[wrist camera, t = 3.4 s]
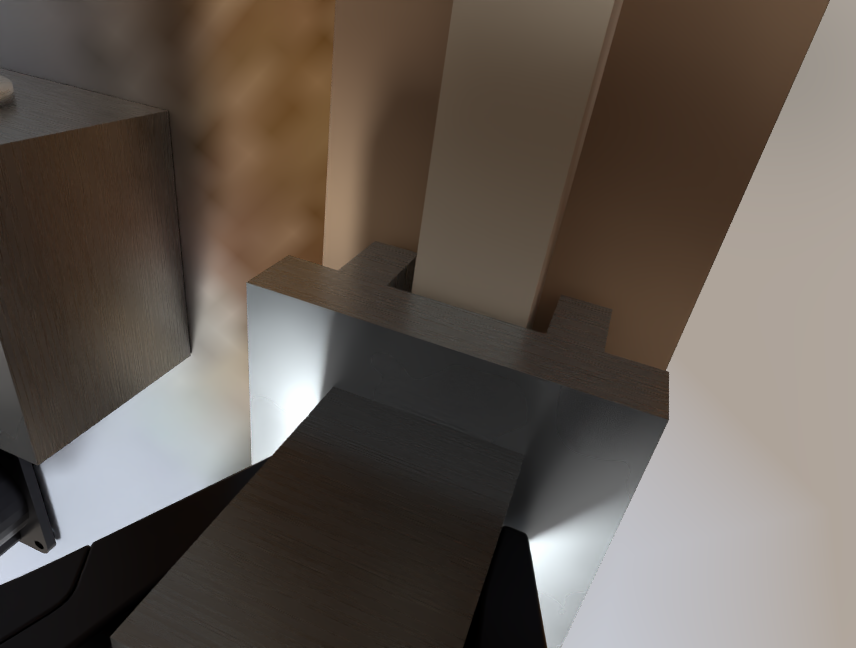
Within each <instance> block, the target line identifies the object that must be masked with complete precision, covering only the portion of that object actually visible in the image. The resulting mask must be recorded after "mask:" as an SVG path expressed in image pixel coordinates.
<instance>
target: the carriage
mask: <svg viewBox="0 0 856 648" xmlns="http://www.w3.org/2000/svg"><path fill="white" fill-rule="evenodd" d="M416 258H417V253H416V252H412V251H409V250H405V249H402V248H398V247H395V246H391V245H388V244H385V243H381V242H378V241H375V242H373V243H372V244H371V245H369V246H368V247H367V248H366V249H364V250H363V251H362V252H361V253H359V254H358V255H357V256H355V257H354V258H353V259H352V260H350V261H349V262H348V263H347V264H345V265H344V266H343V267H341V268H340V269H339V270H335V269H332V268H329V267H325V266H322V265H319V264H316V263H312V262H309V261H306V260H303V259H299V258H296V257H293V256H289V255H288V256H287V257H285V258H284V259H282V260H281V261H279V262H277V263H276V264H274V265H273V266H271V267H270V268H268V269H267V270H265V271H264V272H262V273H260V274H259V275H257V276H256V277H254V278H253V279H251V280H250V281H248V282H246V283H247V319H248V355H249V391H250V426H251V462H252V465H254V464H256V463H258V462H260V461H262V460H264V459H266V458H268V457H270V456H271V457H270V458H269V459H268V460H267V461H266V463H265V464H264V465H263V466H262V467H261V468H260V469H259V470H258V472H257V473H256V474H255V475H254V476H253V477H252V478H251V479H250V481H249V482H248V483H247V484H246V485H245V486H244V487H243V488H242V489H241V491H240V492H239V493H238V494H237V495H236V496H235V497H234V498H233V500H232V501H231V502H230V503H229V504H228V505H227V506H226V507H225V509H224V510H223V511H222V512H221V513H220V514H219V515H218V516H217V518H216V519H215V520H214V521H213V522H212V523H211V524H210V525H209V527H208V528H207V529H206V530H205V531H204V532H203V533H202V534H201V535H200V537H199V538H198V539H197V540H196V541H195V542H194V543H193V544H192V546H191V547H190V548H189V549H188V550H187V551H186V552H185V553H184V555H183V556H182V557H181V558H180V559H179V560H178V561H177V562H176V564H175V565H174V566H173V567H172V568H171V569H170V570H169V571H168V572H167V574H166V575H165V576H164V577H163V578H162V579H161V580H160V581H159V583H158V584H157V585H156V586H155V587H154V588H153V589H152V590H151V592H150V593H149V594H148V595H147V596H146V597H145V598H144V599H143V601H142V602H141V603H140V604H139V605H138V606H137V607H136V608H135V610H134V611H133V612H132V613H131V614H130V615H129V616H128V617H127V618H126V620H125V621H124V622H123V623H122V624H121V625H120V626H119V627H118V629H117V630H116V631H115V632H114V633H113V634H112V635H111V636H110V640H111V643H112V647H113V648H464V645H465V642H466V638H467V635H468V632H469V629H470V626H471V623H472V619H473V616H474V613H475V610H476V607H477V603H478V600H479V597H480V594H481V591H482V588H483V585H484V581H485V578H486V575H487V572H488V569H489V566H490V563H491V560H492V557H493V554H494V551H495V548H496V544H497V541H498V538H499V535H500V532H501V529H502V527H503V526H509V527H512V528H514V529H517V530H519V531H522V532H524V533H526V534H527V536H528V539H529V544H530V550H531V555H532V561H533V567H534V573H535V579H536V585H537V590H538V596H539V602H540V608H541V614H542V620H543V625H544V631H545V637H546V643H547V648H561V646H562V644H563V642H564V640H565V638H566V636H567V634H568V631H569V629H570V627H571V625H572V623H573V621H574V619H575V617H576V615H577V612H578V610H579V608H580V606H581V604H582V601H583V600H584V598H585V596H586V594H587V591H588V589H589V587H590V585H591V583H592V581H593V579H594V576H595V575H596V572H597V570H598V568H599V566H600V564H601V562H602V560H603V557H604V556H605V553H606V551H607V549H608V547H609V545H610V543H611V541H612V538H613V537H614V534H615V532H616V530H617V528H618V526H619V524H620V521H621V520H622V518H623V515H624V513H625V511H626V509H627V507H628V505H629V503H630V501H631V498H632V496H633V494H634V492H635V490H636V488H637V486H638V484H639V482H640V480H641V477H642V475H643V473H644V471H645V469H646V467H647V465H648V463H649V461H650V458H651V456H652V454H653V452H654V450H655V448H656V446H657V444H658V442H659V439H660V437H661V435H662V433H663V431H664V429H665V427H666V425H667V423H668V420H669V372H667V371H664V370H661V369H658V368H655V367H651V366H648V365H645V364H641V363H638V362H635V361H632V360H628V359H625V358H622V357H619V356H615V355H612V354H609V353H606V352H604V351H605V346H606V340H607V335H608V330H609V325H610V319H611V314H612V309H610V308H606V307H603V306H599V305H596V304H592V303H589V302H585V301H582V300H578V299H575V298H571V297H568V296H565V295H561V296H560V299H559V301H558V304H557V307H556V309H555V312H554V315H553V317H552V320H551V322H550V325H549V328H548V330H547V333H546V334H544V333H540V332H537V331H534V330H531V329H527V328H524V327H521V326H518V325H514V324H511V323H508V322H505V321H501V320H498V319H495V318H492V317H488V316H485V315H482V314H479V313H475V312H472V311H469V310H465V309H462V308H459V307H456V306H452V305H449V304H446V303H443V302H439V301H436V300H433V299H430V298H426V297H423V296H420V295H417V294H413V293H412V286H413V279H414V272H415V265H416Z"/></svg>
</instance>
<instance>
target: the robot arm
mask: <svg viewBox="0 0 856 648" xmlns="http://www.w3.org/2000/svg"><path fill="white" fill-rule="evenodd" d="M270 457H271V456H270ZM270 457H268V458H266V459H264V460H262V461H260V462H258V463H256V464H254V465H251V466H249V467H247V468H245V469H243V470H241V471H239V472H237V473H235V474H233V475H231V476H229V477H227V478H225V479H223V480H221V481H219V482H217V483H214V484H212V485H210V486H208V487H206V488H204V489H202V490H200V491H198V492H196V493H194V494H192V495H190V496H188V497H186V498H184V499H182V500H179V501H177V502H175V503H173V504H171V505H169V506H167V507H165V508H163V509H161V510H159V511H157V512H155V513H153V514H151V515H149V516H147V517H145V518H142V519H140V520H138V521H136V522H134V523H132V524H130V525H128V526H126V527H124V528H122V529H120V530H118V531H116V532H114V533H112V534H110V535H108V536H105V537H103V538H101V539H99V540H97V541H95V542H93V543H92V545H91V547H90V546H89V545H87V546H84V547H82V548H80V549H78V550H76V551H74V552H72V553H70V554H68V555H66V556H64V557H62V558H60V559H58V560H55V561H53V562H51V563H49V564H47V565H45V566H42V567H40V568H38V569H36V570H34V571H32V572H29V573H27V574H25V575H23V576H21V577H18V578H16V579H13V580H11V581H9V582H6V583H4V584H2V585H0V648H113V647H112V643H111V640H110V636H111V635H112V634H113V633H114V632H115V631H116V630H117V629H118V627H119V626H120V625H121V624H122V623H123V622H124V621H125V620H126V618H127V617H128V616H129V615H130V614H131V613H132V612H133V611H134V610H135V608H136V607H137V606H138V605H139V604H140V603H141V602H142V601H143V599H144V598H145V597H146V596H147V595H148V594H149V593H150V592H151V590H152V589H153V588H154V587H155V586H156V585H157V584H158V583H159V581H160V580H161V579H162V578H163V577H164V576H165V575H166V574H167V572H168V571H169V570H170V569H171V568H172V567H173V566H174V565H175V564H176V562H177V561H178V560H179V559H180V558H181V557H182V556H183V555H184V553H185V552H186V551H187V550H188V549H189V548H190V547H191V546H192V544H193V543H194V542H195V541H196V540H197V539H198V538H199V537H200V535H201V534H202V533H203V532H204V531H205V530H206V529H207V528H208V527H209V525H210V524H211V523H212V522H213V521H214V520H215V519H216V518H217V516H218V515H219V514H220V513H221V512H222V511H223V510H224V509H225V507H226V506H227V505H228V504H229V503H230V502H231V501H232V500H233V498H234V497H235V496H236V495H237V494H238V493H239V492H240V491H241V489H242V488H243V487H244V486H245V485H246V484H247V483H248V482H249V481H250V479H251V478H252V477H253V476H254V475H255V474H256V473H257V472H258V470H259V469H260V468H261V467H262V466H263V465H264V464H265V463H266V461H267V460H268V459H269V458H270ZM18 541H20V542H22V543H24V544H26V545H28V546H30V547H32V548H34V549H36V550H38V551H40V552H42V553H48V552H49V551H50V550H51V549H52V548H53V547H55V546H56V541H55V538H54V535H53V532H52V528H51V525H50V522H49V519H48V515H47V512H46V509H45V505H44V502H43V499H42V496H41V492H40V489H39V486H38V483H37V479H36V476H35V473H34V470H33V466H32V463H31V462H28V461H26V460H24V459H22V458H20V457H17V456H15V455H13V454H11V453H9V452H6V451H4V450H2V449H0V556H1V555H2V554H4V553H5V552H6V551H7V550H8V549H10V548H11V547H12V546H13V545H15V544H16V543H17V542H18ZM464 648H547V643H546V637H545V631H544V625H543V620H542V614H541V608H540V602H539V596H538V590H537V585H536V579H535V573H534V567H533V561H532V555H531V550H530V544H529V539H528V536H527V534H526V533H524V532H522V531H519V530H517V529H514V528H512V527H509V526H503V527H502V529H501V532H500V535H499V538H498V541H497V544H496V548H495V551H494V554H493V557H492V560H491V563H490V566H489V569H488V572H487V575H486V578H485V581H484V585H483V588H482V591H481V594H480V597H479V600H478V603H477V607H476V610H475V613H474V616H473V619H472V623H471V626H470V629H469V632H468V635H467V638H466V642H465V645H464Z"/></svg>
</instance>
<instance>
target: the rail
mask: <svg viewBox="0 0 856 648" xmlns="http://www.w3.org/2000/svg"><path fill="white" fill-rule="evenodd" d="M829 1H830V0H336V4H335V24H334V44H333V64H332V85H331V105H330V125H329V145H328V165H327V186H326V206H325V226H324V246H323V266H325V267H329V268H332V269H335V270H339V269H340V268H341V267H343V266H344V265H345V264H347V263H348V262H349V261H350V260H352V259H353V258H354V257H355V256H357V255H358V254H359V253H361V252H362V251H363V250H364V249H366V248H367V247H368V246H369V245H371V244H372V243H373V242H375V241H378V242H381V243H385V244H388V245H391V246H395V247H398V248H402V249H405V250H409V251H412V252H416V253H417V258H416V265H415V272H414V279H413V286H412V293H413V294H417V295H420V296H423V297H426V298H430V299H433V300H436V301H439V302H443V303H446V304H449V305H452V306H456V307H459V308H462V309H465V310H469V311H472V312H475V313H479V314H482V315H485V316H488V317H492V318H495V319H498V320H501V321H505V322H508V323H511V324H514V325H518V326H521V327H524V328H527V329H531V330H534V331H537V332H540V333H544V334H546V333H547V330H548V328H549V325H550V322H551V320H552V317H553V315H554V312H555V309H556V307H557V304H558V301H559V299H560V296H561V295H565V296H568V297H571V298H575V299H578V300H582V301H585V302H589V303H592V304H596V305H599V306H603V307H606V308H610V309H612V314H611V319H610V325H609V330H608V335H607V340H606V346H605V351H604V352H606V353H609V354H612V355H615V356H619V357H622V358H625V359H628V360H632V361H635V362H638V363H641V364H645V365H648V366H651V367H655V368H658V369H661V370H664V371H666V369H667V366H668V364H669V362H670V360H671V357H672V355H673V353H674V350H675V348H676V346H677V344H678V342H679V339H680V337H681V334H682V333H683V330H684V328H685V326H686V323H687V321H688V319H689V317H690V314H691V312H692V310H693V308H694V305H695V303H696V301H697V298H698V296H699V294H700V292H701V290H702V287H703V285H704V283H705V281H706V278H707V276H708V274H709V272H710V269H711V267H712V265H713V263H714V260H715V258H716V256H717V254H718V251H719V249H720V247H721V245H722V242H723V240H724V238H725V236H726V233H727V231H728V229H729V227H730V224H731V222H732V220H733V218H734V215H735V213H736V211H737V208H738V206H739V204H740V202H741V200H742V197H743V195H744V193H745V190H746V188H747V186H748V184H749V182H750V179H751V177H752V175H753V172H754V170H755V168H756V166H757V163H758V161H759V159H760V157H761V154H762V152H763V150H764V148H765V145H766V143H767V141H768V138H769V136H770V134H771V132H772V130H773V128H774V125H775V123H776V121H777V118H778V116H779V114H780V111H781V109H782V107H783V105H784V103H785V100H786V98H787V96H788V94H789V91H790V89H791V87H792V85H793V82H794V80H795V77H796V75H797V73H798V71H799V69H800V67H801V64H802V62H803V60H804V58H805V55H806V53H807V51H808V49H809V46H810V44H811V42H812V40H813V37H814V35H815V33H816V31H817V28H818V26H819V24H820V22H821V19H822V17H823V15H824V13H825V10H826V8H827V6H828V4H829Z"/></svg>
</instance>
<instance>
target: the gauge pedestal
mask: <svg viewBox="0 0 856 648" xmlns="http://www.w3.org/2000/svg"><path fill="white" fill-rule="evenodd" d="M189 356H191V354H190V344H189V333H188V322H187V311H186V300H185V289H184V279H183V268H182V257H181V246H180V235H179V225H178V214H177V203H176V192H175V181H174V170H173V160H172V149H171V138H170V127H169V116H168V111H167V110H163V109H159V108H155V107H151V106H147V105H144V104H140V103H136V102H132V101H128V100H124V99H120V98H116V97H112V96H108V95H104V94H100V93H96V92H93V91H89V90H85V89H81V88H77V87H73V86H69V85H65V84H61V83H57V82H53V81H49V80H45V79H42V78H38V77H34V76H30V75H26V74H22V73H18V72H14V71H10V70H6V69H2V68H0V449H2V450H4V451H6V452H9V453H11V454H13V455H15V456H17V457H20V458H22V459H24V460H26V461H28V462H31V463H33V464H35V465H37V466H38V465H40V464H41V463H42V462H44V461H45V460H47V459H48V458H49V457H51V456H52V455H53V454H55V453H56V452H58V451H59V450H60V449H62V448H63V447H65V446H66V445H67V444H69V443H70V442H71V441H73V440H74V439H76V438H77V437H78V436H80V435H81V434H83V433H84V432H85V431H87V430H88V429H89V428H91V427H92V426H94V425H95V424H96V423H98V422H99V421H101V420H102V419H103V418H105V417H106V416H107V415H109V414H110V413H112V412H113V411H114V410H116V409H117V408H119V407H120V406H121V405H123V404H124V403H125V402H127V401H128V400H130V399H131V398H132V397H134V396H135V395H137V394H138V393H139V392H141V391H142V390H143V389H145V388H146V387H148V386H149V385H150V384H152V383H153V382H155V381H156V380H157V379H159V378H160V377H161V376H163V375H164V374H166V373H167V372H168V371H170V370H171V369H173V368H174V367H175V366H177V365H178V364H179V363H181V362H182V361H184V360H185V359H186V358H188V357H189Z"/></svg>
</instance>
